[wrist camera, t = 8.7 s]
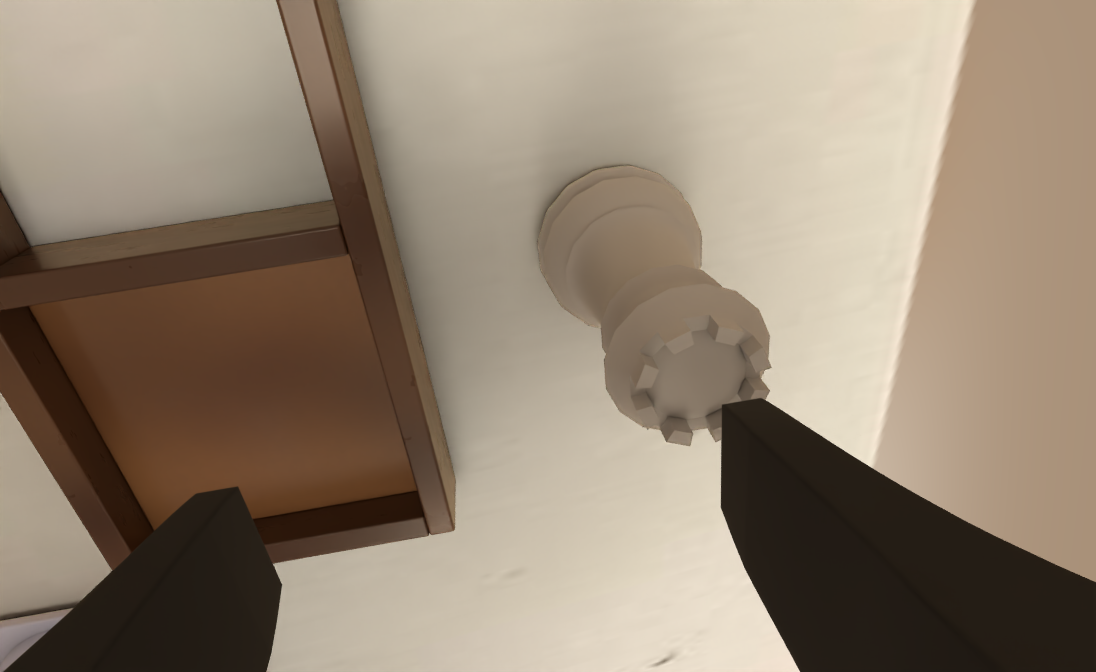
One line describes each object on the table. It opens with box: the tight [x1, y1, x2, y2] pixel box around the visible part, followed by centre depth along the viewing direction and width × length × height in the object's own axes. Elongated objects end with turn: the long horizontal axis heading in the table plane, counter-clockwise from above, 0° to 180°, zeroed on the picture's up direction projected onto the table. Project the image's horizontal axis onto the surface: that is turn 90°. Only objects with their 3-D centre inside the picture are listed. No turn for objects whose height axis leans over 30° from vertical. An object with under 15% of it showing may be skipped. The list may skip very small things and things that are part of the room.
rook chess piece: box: [537, 165, 772, 446], centre depth 15 cm, size 4×4×8 cm
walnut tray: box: [0, 0, 456, 571], centre depth 16 cm, size 19×10×2 cm, turn 7°
